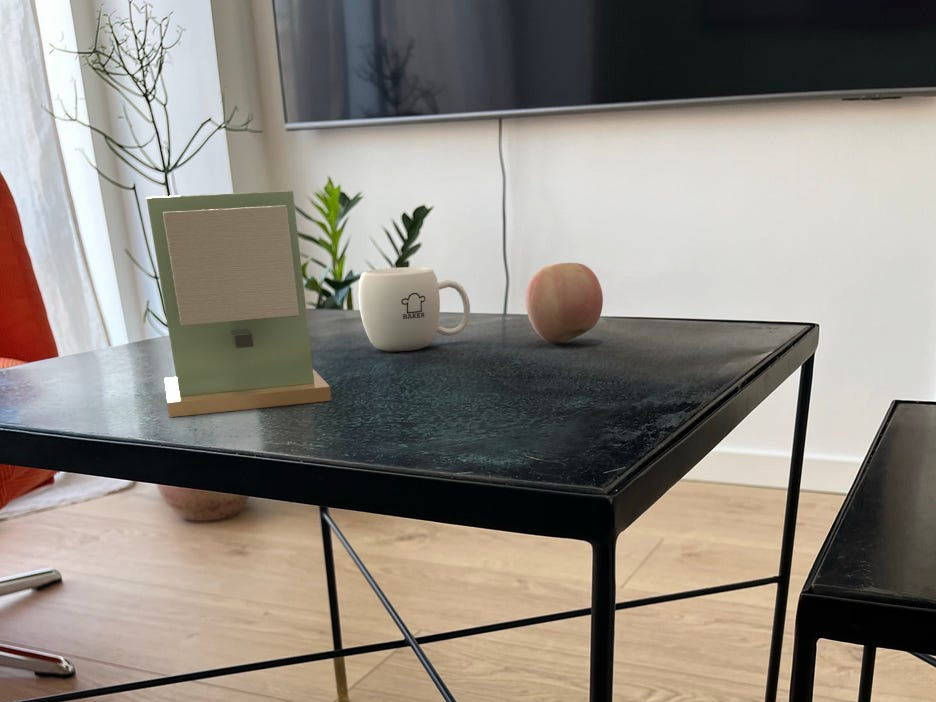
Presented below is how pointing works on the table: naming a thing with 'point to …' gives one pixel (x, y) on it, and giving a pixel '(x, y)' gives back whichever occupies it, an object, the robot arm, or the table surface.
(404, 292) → the mug
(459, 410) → the table surface
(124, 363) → the table surface
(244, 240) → the push plate
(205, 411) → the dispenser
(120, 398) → the table surface
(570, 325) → the apple
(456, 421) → the table surface
